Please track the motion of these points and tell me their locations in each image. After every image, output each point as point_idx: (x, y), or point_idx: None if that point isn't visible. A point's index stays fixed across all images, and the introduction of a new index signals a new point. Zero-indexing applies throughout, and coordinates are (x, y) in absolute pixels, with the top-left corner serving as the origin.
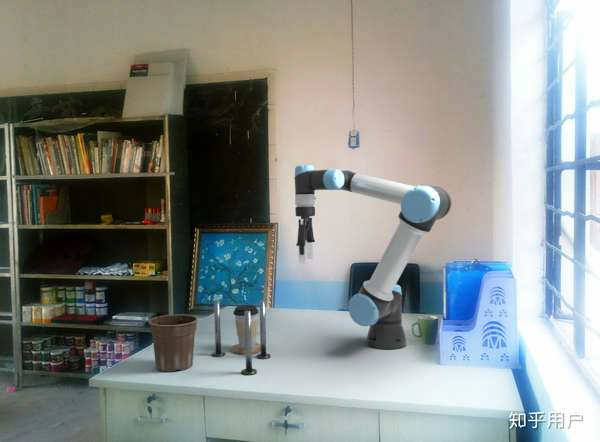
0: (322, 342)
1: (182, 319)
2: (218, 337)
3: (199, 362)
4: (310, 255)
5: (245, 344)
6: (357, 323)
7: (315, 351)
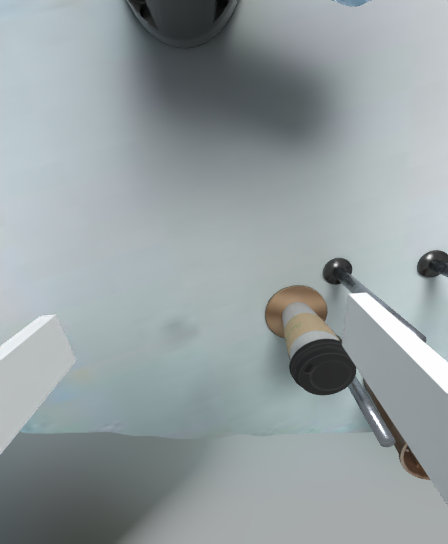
0: (212, 181)
1: (399, 443)
2: None
3: None
4: (41, 353)
5: None
6: None
7: (288, 177)
